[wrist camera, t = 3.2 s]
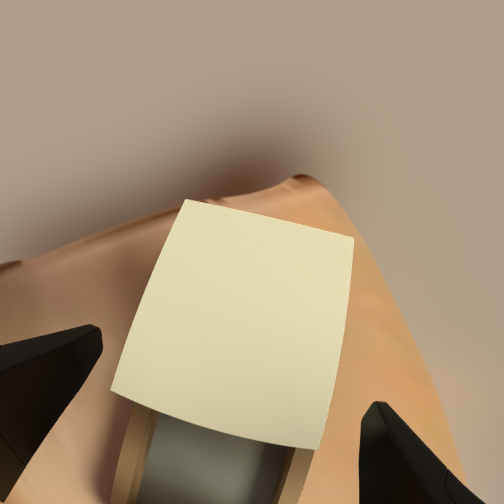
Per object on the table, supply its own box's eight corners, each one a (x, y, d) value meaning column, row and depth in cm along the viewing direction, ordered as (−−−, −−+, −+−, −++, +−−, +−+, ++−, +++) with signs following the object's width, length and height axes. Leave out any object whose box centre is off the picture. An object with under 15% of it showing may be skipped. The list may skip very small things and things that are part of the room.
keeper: (269, 413, 14) (318, 450, 4) (193, 392, 14) (109, 390, 5) (289, 331, 16) (353, 237, 7) (217, 313, 16) (185, 198, 7)
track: (262, 561, 9) (268, 599, 5) (118, 520, 10) (86, 545, 6) (334, 301, 18) (362, 271, 14) (192, 267, 19) (179, 227, 15)
